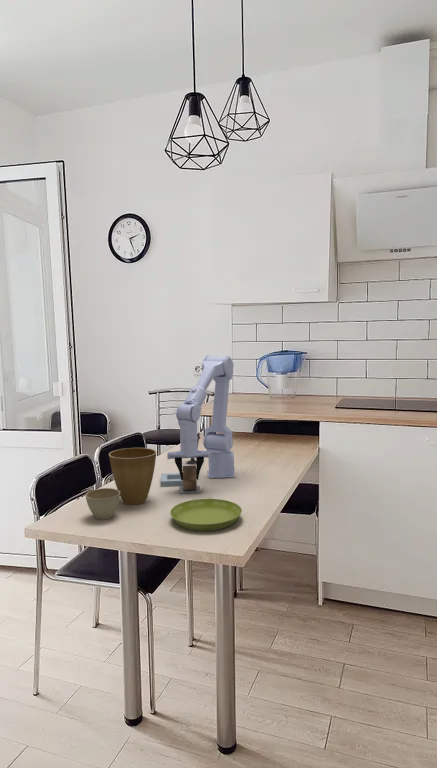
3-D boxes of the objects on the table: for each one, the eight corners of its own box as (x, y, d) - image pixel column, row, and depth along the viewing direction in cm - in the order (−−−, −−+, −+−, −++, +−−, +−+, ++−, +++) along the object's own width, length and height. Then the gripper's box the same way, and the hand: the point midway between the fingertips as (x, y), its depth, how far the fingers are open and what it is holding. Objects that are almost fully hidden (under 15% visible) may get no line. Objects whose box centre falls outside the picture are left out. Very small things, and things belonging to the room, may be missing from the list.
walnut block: (196, 485, 192) (195, 465, 191) (196, 489, 187) (196, 468, 187) (183, 485, 192) (182, 465, 191) (183, 489, 187) (182, 469, 186)
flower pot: (80, 516, 166) (78, 493, 165) (108, 508, 173) (107, 486, 172) (98, 525, 159) (97, 501, 158) (127, 516, 166) (126, 493, 165)
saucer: (189, 505, 175) (189, 495, 175) (251, 513, 168) (251, 503, 167) (157, 528, 157) (157, 517, 156) (225, 539, 149) (225, 527, 148)
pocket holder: (188, 477, 205) (188, 472, 205) (189, 485, 195) (189, 480, 195) (161, 478, 204) (161, 473, 204) (160, 486, 194) (160, 481, 194)
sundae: (181, 463, 223) (180, 427, 221) (188, 459, 230) (187, 423, 228) (196, 465, 221) (195, 428, 219) (203, 461, 227) (202, 424, 225)
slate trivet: (199, 486, 193) (199, 485, 193) (200, 493, 186) (200, 492, 186) (179, 487, 193) (179, 486, 193) (179, 494, 186) (179, 492, 186)
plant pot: (167, 500, 179) (165, 451, 177) (129, 512, 169) (127, 460, 167) (138, 491, 190) (137, 444, 188) (101, 501, 179) (99, 452, 177)
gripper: (166, 442, 183) (167, 483, 184) (211, 441, 184) (211, 481, 185) (167, 438, 190) (168, 477, 191) (209, 436, 191) (210, 475, 192)
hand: (189, 479), depth 189 cm, fingers closed on walnut block, 4 cm apart
